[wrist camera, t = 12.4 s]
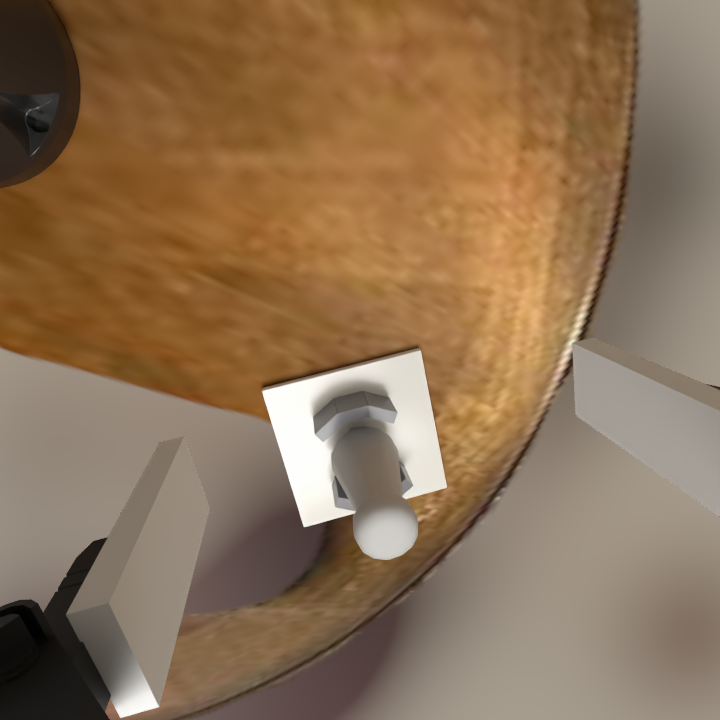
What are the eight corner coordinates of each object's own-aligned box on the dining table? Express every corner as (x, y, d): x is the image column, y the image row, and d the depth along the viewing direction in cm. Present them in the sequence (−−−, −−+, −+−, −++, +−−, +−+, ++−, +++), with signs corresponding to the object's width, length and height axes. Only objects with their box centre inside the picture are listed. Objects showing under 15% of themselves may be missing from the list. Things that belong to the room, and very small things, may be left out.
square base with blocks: (303, 522, 44) (304, 552, 40) (262, 387, 40) (258, 406, 36) (444, 483, 45) (459, 508, 41) (418, 347, 41) (432, 361, 37)
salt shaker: (376, 483, 43) (408, 586, 31) (319, 464, 42) (329, 564, 30) (402, 429, 42) (447, 513, 30) (345, 407, 41) (367, 487, 28)
